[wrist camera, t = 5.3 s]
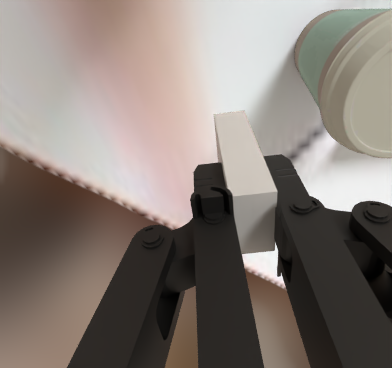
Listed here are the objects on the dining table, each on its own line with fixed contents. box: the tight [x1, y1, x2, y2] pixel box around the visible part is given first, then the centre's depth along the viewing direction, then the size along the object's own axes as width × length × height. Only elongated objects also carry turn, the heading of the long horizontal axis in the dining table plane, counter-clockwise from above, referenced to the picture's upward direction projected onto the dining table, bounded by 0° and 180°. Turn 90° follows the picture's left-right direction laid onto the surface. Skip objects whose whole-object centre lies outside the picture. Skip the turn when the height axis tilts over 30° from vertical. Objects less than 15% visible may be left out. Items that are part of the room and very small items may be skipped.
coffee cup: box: [295, 9, 392, 158], centre depth 21 cm, size 8×8×12 cm
